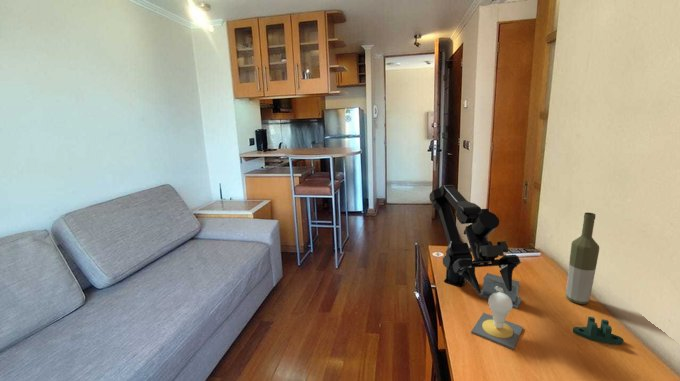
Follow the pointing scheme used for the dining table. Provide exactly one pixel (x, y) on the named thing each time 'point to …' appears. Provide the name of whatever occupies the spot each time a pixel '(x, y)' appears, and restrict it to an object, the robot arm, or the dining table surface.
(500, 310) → the lightbulb
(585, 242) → the bottle
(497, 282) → the lamp housing
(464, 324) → the dining table surface
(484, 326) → the parts mat
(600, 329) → the mount
